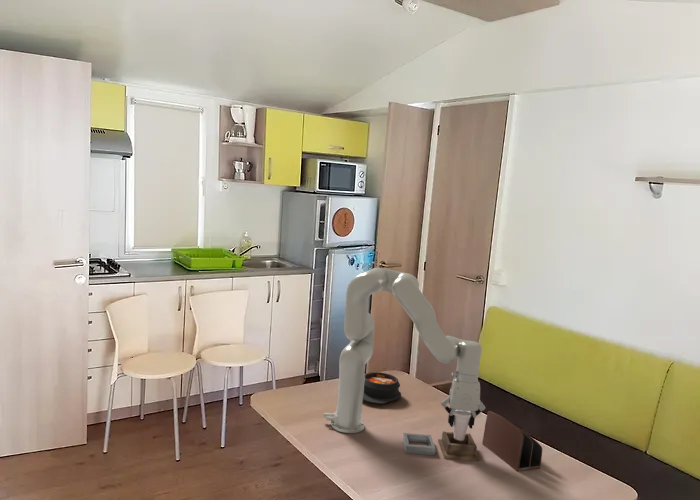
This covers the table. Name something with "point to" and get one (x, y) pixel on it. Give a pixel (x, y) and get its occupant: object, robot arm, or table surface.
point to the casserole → (380, 388)
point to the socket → (458, 447)
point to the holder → (415, 448)
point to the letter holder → (511, 443)
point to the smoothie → (461, 423)
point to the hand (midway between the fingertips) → (460, 425)
